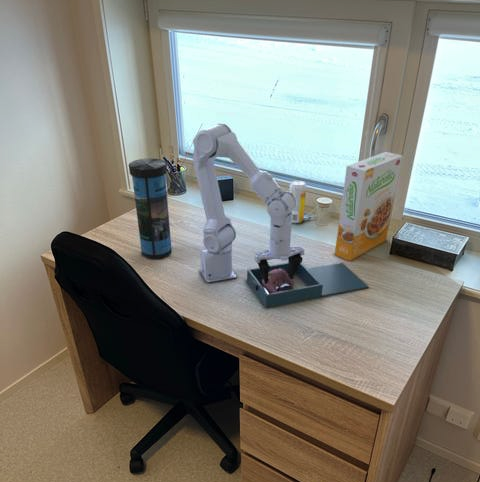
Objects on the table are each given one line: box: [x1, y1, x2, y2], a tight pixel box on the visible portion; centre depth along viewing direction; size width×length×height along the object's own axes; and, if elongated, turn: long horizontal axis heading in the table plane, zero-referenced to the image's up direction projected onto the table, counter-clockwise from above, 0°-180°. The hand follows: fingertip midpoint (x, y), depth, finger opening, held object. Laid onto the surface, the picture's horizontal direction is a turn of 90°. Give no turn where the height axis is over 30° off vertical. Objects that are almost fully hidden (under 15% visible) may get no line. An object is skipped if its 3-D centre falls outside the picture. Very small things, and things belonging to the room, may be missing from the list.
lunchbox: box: [246, 261, 369, 309], centre depth 139 cm, size 34×15×4 cm, turn 110°
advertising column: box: [128, 158, 173, 260], centre depth 148 cm, size 11×11×30 cm
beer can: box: [289, 180, 307, 224], centre depth 175 cm, size 6×6×15 cm
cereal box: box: [334, 151, 404, 262], centre depth 153 cm, size 22×6×30 cm, turn 135°
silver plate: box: [258, 280, 293, 294], centre depth 137 cm, size 9×12×1 cm
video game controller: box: [261, 269, 295, 294], centre depth 136 cm, size 10×5×7 cm, turn 140°
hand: (278, 279), depth 135 cm, fingers open, 7 cm apart
